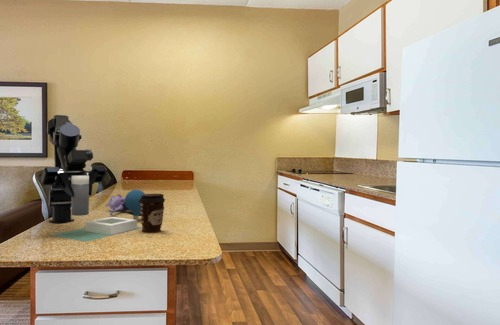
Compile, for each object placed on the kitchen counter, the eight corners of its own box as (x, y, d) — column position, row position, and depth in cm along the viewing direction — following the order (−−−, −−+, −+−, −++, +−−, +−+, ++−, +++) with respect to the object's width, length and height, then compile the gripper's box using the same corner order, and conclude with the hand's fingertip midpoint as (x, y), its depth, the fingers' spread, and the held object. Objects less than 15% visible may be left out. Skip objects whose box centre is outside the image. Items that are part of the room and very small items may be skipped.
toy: (129, 206, 152) (85, 191, 170) (128, 229, 153) (83, 212, 171) (180, 199, 174) (135, 186, 191) (178, 220, 175) (134, 205, 192)
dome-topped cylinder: (67, 214, 123) (67, 175, 123) (81, 212, 128) (81, 174, 127) (79, 216, 121) (79, 176, 121) (92, 213, 126) (92, 175, 125)
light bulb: (140, 223, 151) (141, 191, 150) (120, 221, 152) (120, 190, 152) (150, 219, 159) (151, 189, 158) (131, 218, 160) (131, 188, 160)
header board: (49, 238, 123) (49, 225, 123) (109, 225, 145) (109, 214, 145) (86, 244, 116) (86, 231, 116) (143, 230, 138) (143, 218, 137)
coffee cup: (170, 232, 135) (170, 193, 135) (156, 237, 127) (156, 196, 127) (147, 230, 138) (148, 192, 137) (133, 235, 130) (133, 195, 130)
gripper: (43, 140, 120) (55, 179, 113) (104, 141, 133) (119, 177, 125) (36, 165, 126) (47, 204, 119) (95, 164, 139) (108, 199, 131)
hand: (81, 195), depth 123 cm, fingers closed on dome-topped cylinder, 5 cm apart
